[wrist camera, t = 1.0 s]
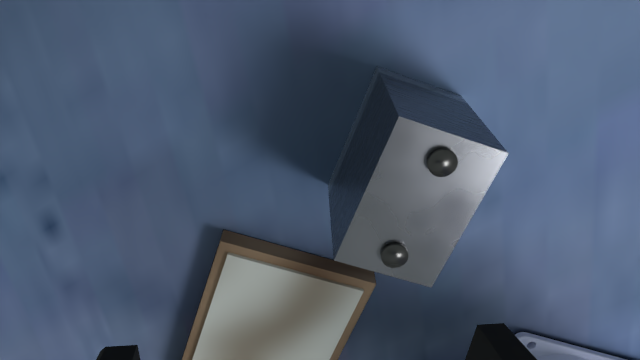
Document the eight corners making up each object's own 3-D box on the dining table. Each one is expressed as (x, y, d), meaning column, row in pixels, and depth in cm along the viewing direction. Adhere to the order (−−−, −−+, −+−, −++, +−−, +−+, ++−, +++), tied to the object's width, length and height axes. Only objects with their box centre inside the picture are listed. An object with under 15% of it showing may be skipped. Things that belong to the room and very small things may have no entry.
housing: (461, 95, 23) (510, 155, 17) (405, 207, 25) (432, 290, 20) (376, 65, 22) (400, 118, 16) (328, 184, 25) (334, 263, 19)
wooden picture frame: (373, 271, 27) (376, 286, 26) (310, 398, 31) (310, 415, 30) (223, 229, 25) (220, 243, 24) (178, 368, 30) (174, 385, 29)
